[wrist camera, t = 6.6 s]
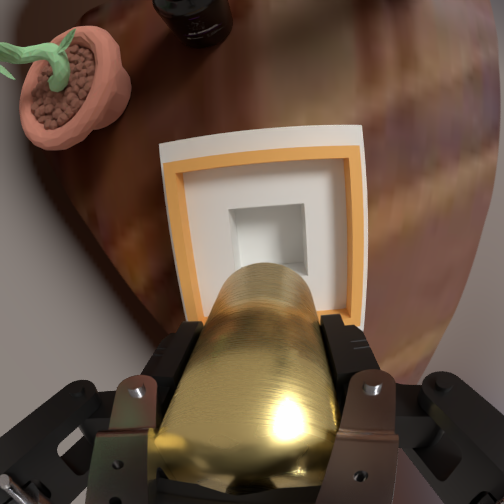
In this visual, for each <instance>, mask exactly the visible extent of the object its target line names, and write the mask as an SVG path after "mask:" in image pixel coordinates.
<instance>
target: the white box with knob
mask: <svg viewBox="0 0 504 504" xmlns="http://www.w3.org/2000/svg"><path fill="white" fill-rule="evenodd" d="M159 151H160V161H161V170H162V179H163V188H164V196H165V203H166V211H167V218H168V224H169V231H170V237H171V244H172V250H173V256H174V261H175V267H176V273H177V278H178V283H179V289H180V294H181V299H182V303H183V308H184V313H185V318H186V321H202V323H203V325H205V323H206V320H207V318H208V316H209V314H210V312H211V309H212V307H213V305H214V303H215V300H216V298H217V296H218V294H219V292H220V289H221V287H222V286H223V284H224V282H225V281H226V280H227V278H228V277H229V276H230V275H231V274H233V273H234V272H235V271H237V270H238V269H240V268H242V267H244V266H247V265H250V264H254V263H261V262H268V263H276V264H280V265H283V266H285V267H288V268H290V269H291V270H293V271H295V272H296V273H297V274H299V275H300V276H301V277H302V278H303V279H304V281H305V282H306V283H307V285H308V287H309V288H310V291H311V293H312V297H313V300H314V304H315V308H316V312H317V315H318V319H319V323H320V317H321V315H329V314H340V315H341V317H342V320H343V322H344V325H355V326H356V327H358V328H359V329H360V330H362V331H363V329H364V317H365V304H366V288H367V263H368V209H367V184H366V167H365V154H364V143H363V133H362V125H315V126H294V127H278V128H266V129H255V130H246V131H237V132H229V133H221V134H214V135H207V136H201V137H195V138H189V139H183V140H177V141H172V142H167V143H162V144H159Z"/></svg>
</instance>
